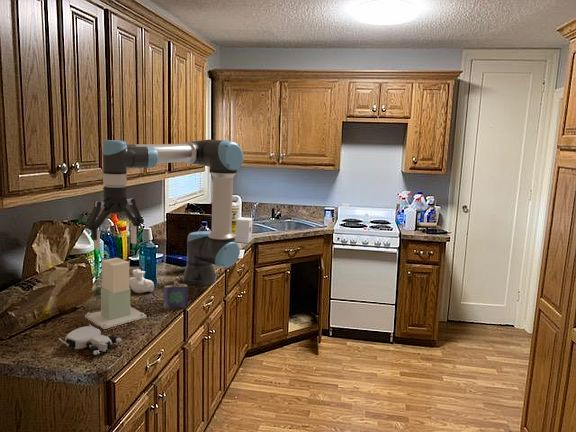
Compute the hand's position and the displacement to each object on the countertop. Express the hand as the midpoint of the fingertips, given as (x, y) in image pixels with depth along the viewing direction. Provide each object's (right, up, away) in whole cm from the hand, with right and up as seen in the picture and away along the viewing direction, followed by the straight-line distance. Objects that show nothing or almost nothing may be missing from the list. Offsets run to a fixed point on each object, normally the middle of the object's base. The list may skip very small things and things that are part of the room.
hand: (115, 246), depth 160 cm
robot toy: (-1, -31, -18) cm, 35 cm away
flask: (+17, -25, +18) cm, 35 cm away
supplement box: (+32, -6, +133) cm, 137 cm away
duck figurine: (-2, -22, +32) cm, 39 cm away
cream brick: (-1, -15, +3) cm, 16 cm away
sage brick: (-2, -25, +4) cm, 26 cm away
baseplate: (-2, -26, +5) cm, 27 cm away
